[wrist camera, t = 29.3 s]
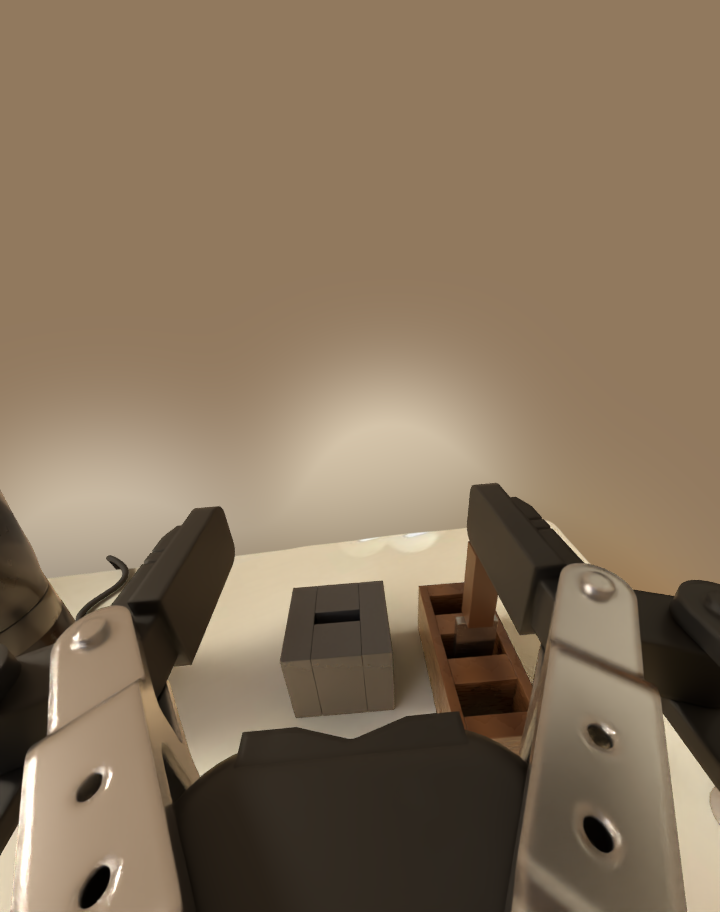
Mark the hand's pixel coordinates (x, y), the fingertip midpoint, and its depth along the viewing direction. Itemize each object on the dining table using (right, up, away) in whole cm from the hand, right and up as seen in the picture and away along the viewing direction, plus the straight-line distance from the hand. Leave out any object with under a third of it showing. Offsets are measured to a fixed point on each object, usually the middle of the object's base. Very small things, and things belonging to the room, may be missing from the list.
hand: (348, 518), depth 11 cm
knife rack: (+13, -25, +26) cm, 38 cm away
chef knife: (+13, -25, +26) cm, 38 cm away
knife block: (-1, -25, +29) cm, 38 cm away
